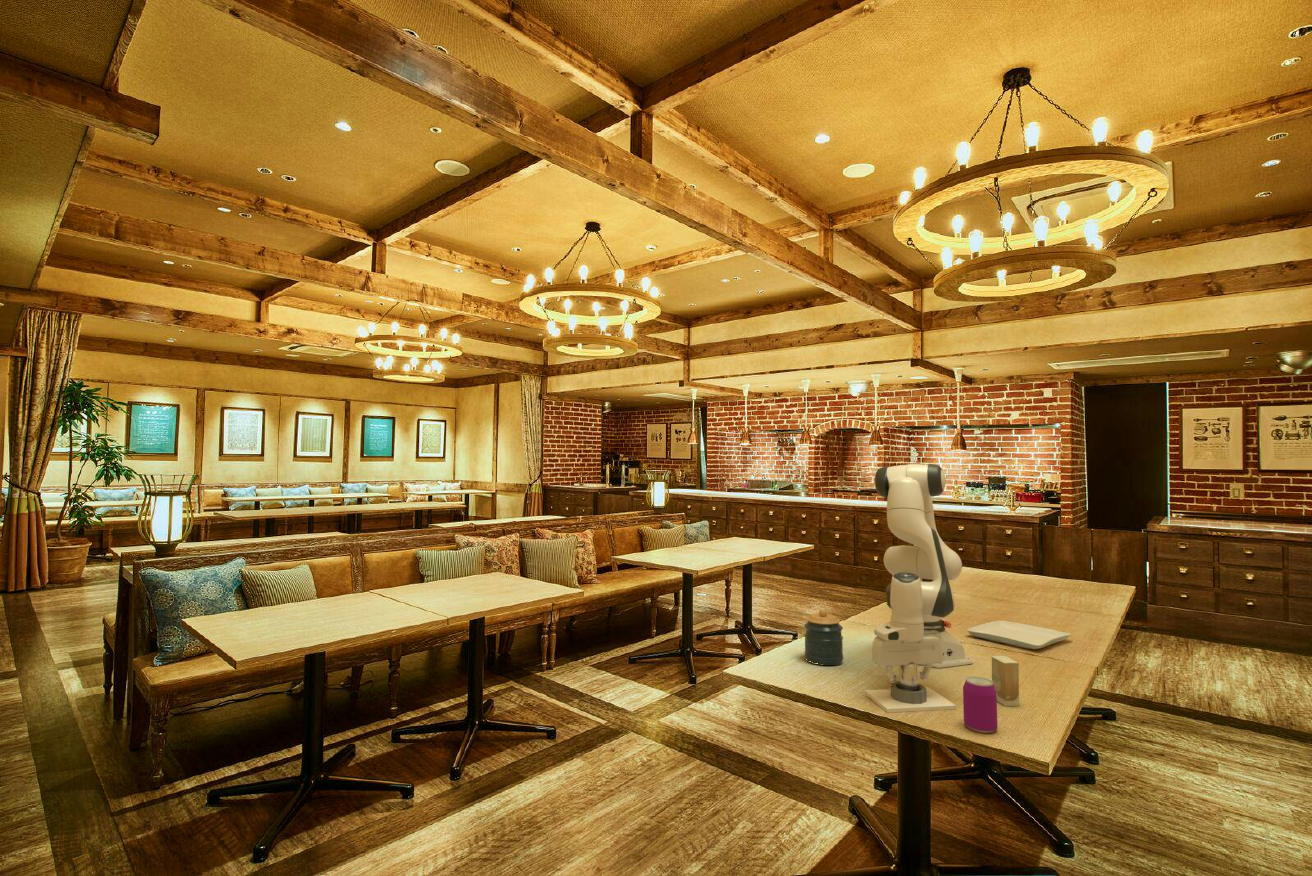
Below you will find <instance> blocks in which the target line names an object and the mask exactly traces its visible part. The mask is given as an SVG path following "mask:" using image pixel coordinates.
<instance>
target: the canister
mask: <svg viewBox="0 0 1312 876" xmlns="http://www.w3.org/2000/svg"><path fill="white" fill-rule="evenodd" d="M806 621H807V622H805V624H804V625H803V627H804V628H805V632H804V634H803V635H804V657H805V658H806V659H807V660H808V661H811V662H813V663H818V664H823V665H836V666H839V665H838V664H840V663H841V664H842V663H843V662H842V661H843V660H844V653H843V650H844V648H843V647H844V646H843V639H844V637H843V635H842V630H843V629H844V628H843V625H841V624H840V623H841V620H840V618H838V617H837V616H836V615H833V614H831V613H828V612H827V610H826V609H825V608H821V609H820V610H819V612H817V613H811V615H809V616H807V617H806ZM806 659H805V660H806ZM808 661H807V662H808ZM841 664H840V665H841Z"/></svg>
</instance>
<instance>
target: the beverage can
mask: <svg viewBox="0 0 1312 876" xmlns="http://www.w3.org/2000/svg"><path fill="white" fill-rule="evenodd" d="M962 703H963V706H962V707H963V722H964V725H965V726H966V727H967V728H968V729H970V730H972V731H973V732H976V733H980V734H991V733H995V731H997V729H998V701H997V691H996V689H995V687H994V684H993V682H992V679H989V678H986V677H981V676H976V675H975V676H967V677H966V678H965V681H964V683H963V686H962Z"/></svg>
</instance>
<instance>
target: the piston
mask: <svg viewBox="0 0 1312 876" xmlns="http://www.w3.org/2000/svg"><path fill="white" fill-rule="evenodd" d="M898 672H899V676H898V677H899V679H898V680H899V682H900V689H901V690H904V691H918V684H919V683H918V664H914V662H909V664H906V665H898Z"/></svg>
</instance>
